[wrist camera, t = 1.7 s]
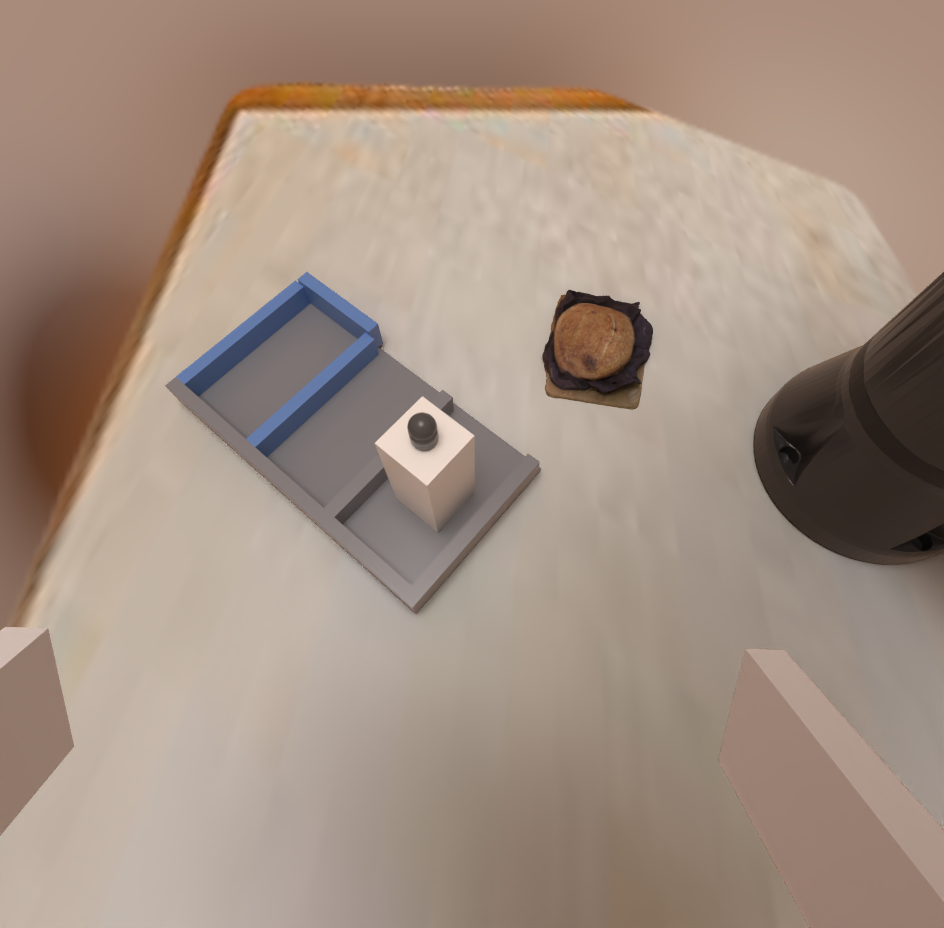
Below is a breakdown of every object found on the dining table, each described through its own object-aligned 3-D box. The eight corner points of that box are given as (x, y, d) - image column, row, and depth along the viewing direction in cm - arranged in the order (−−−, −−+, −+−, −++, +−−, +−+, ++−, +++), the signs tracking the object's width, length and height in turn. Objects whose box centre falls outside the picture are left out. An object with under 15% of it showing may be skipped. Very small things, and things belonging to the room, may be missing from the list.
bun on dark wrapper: (641, 416, 43) (655, 392, 40) (535, 398, 44) (540, 373, 40) (651, 308, 47) (664, 278, 44) (554, 293, 48) (560, 262, 44)
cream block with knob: (433, 458, 41) (418, 374, 30) (474, 491, 40) (474, 416, 29) (395, 498, 39) (367, 424, 29) (437, 533, 38) (423, 469, 28)
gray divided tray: (312, 293, 47) (302, 268, 45) (544, 465, 41) (549, 448, 38) (180, 401, 43) (161, 382, 40) (415, 613, 37) (411, 606, 34)
